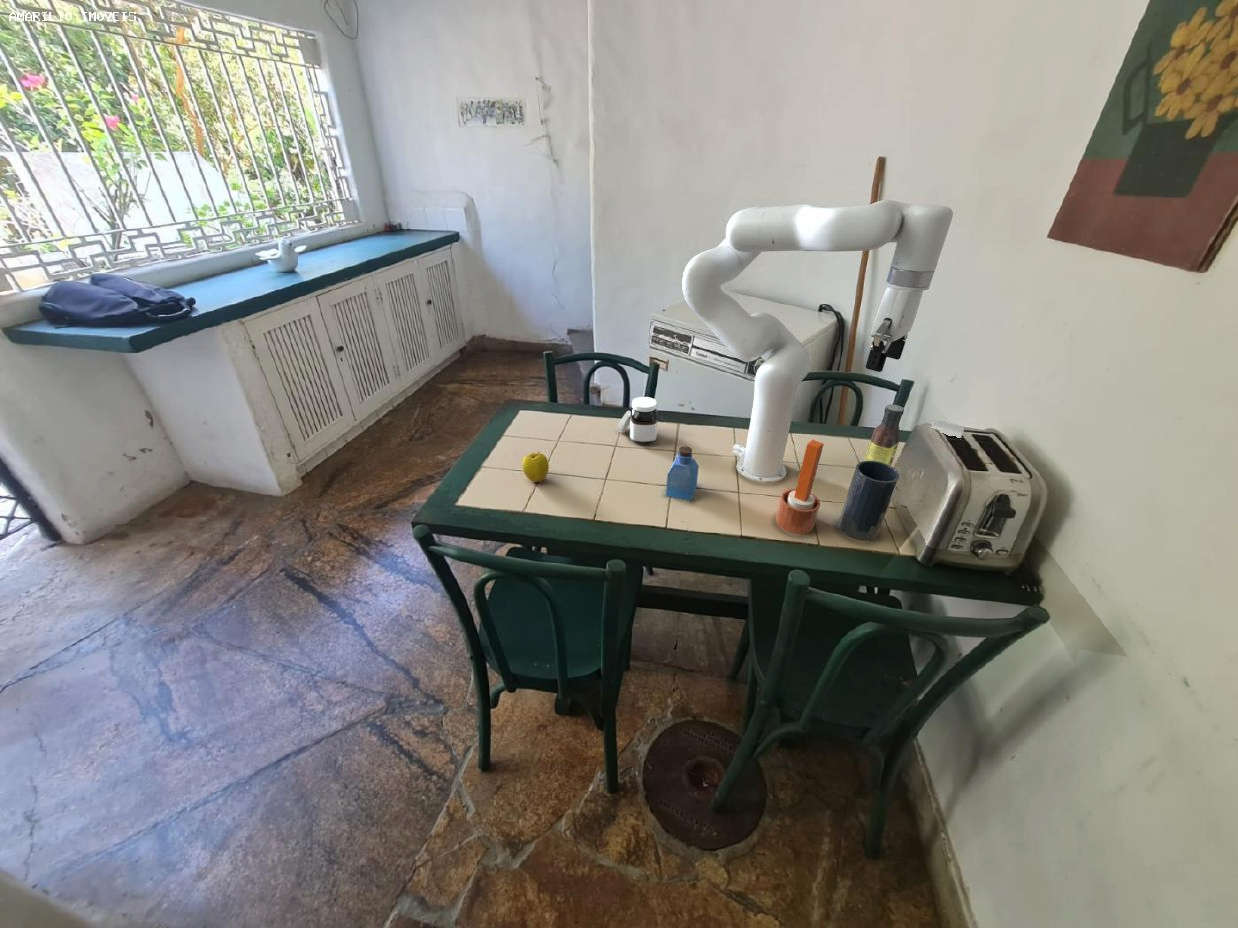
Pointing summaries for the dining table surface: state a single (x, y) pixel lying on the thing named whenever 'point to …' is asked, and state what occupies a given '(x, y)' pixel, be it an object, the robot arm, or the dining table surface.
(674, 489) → the perfume bottle
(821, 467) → the dining table surface
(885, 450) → the sauce bottle
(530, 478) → the apple
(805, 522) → the brush holder
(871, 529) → the dark blue cylindrical vase
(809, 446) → the brush
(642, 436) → the spread jar
